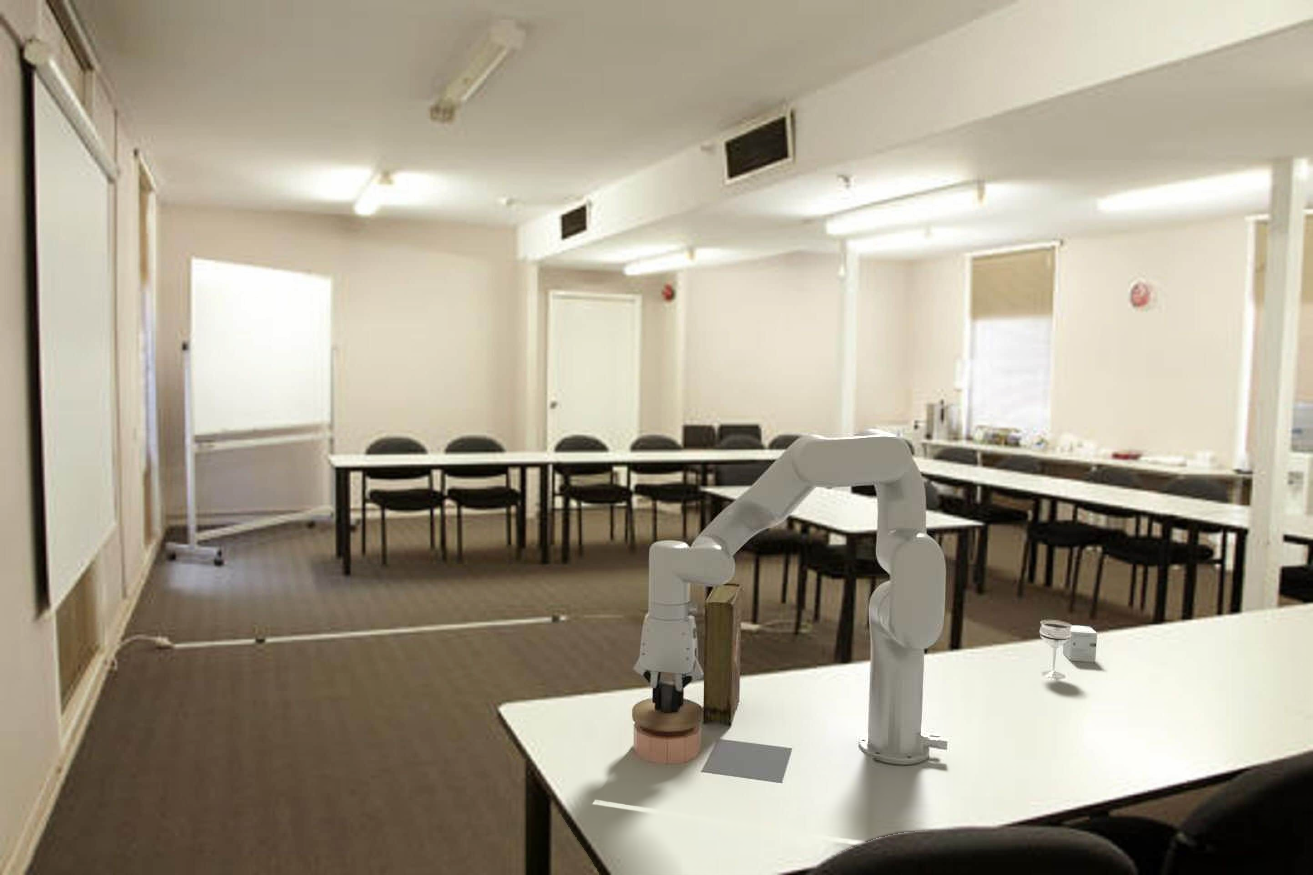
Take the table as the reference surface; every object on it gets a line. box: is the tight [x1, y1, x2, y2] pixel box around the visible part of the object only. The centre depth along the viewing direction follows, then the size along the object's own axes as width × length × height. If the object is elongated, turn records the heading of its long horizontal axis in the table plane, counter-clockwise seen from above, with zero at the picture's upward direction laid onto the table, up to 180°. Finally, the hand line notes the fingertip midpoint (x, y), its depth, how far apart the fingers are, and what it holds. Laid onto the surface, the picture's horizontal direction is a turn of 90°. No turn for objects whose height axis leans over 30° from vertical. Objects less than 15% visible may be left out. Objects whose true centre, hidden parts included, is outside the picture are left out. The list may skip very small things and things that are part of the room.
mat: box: [700, 738, 793, 784], centre depth 159 cm, size 14×14×1 cm
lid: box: [631, 680, 703, 732], centre depth 162 cm, size 13×13×6 cm
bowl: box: [633, 722, 702, 765], centre depth 163 cm, size 12×12×5 cm
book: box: [702, 582, 743, 727], centre depth 180 cm, size 16×6×25 cm, turn 168°
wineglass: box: [1039, 619, 1072, 679], centre depth 205 cm, size 7×7×12 cm
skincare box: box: [1062, 624, 1098, 663], centre depth 218 cm, size 6×6×7 cm
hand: (667, 707), depth 162 cm, fingers closed on lid, 2 cm apart
